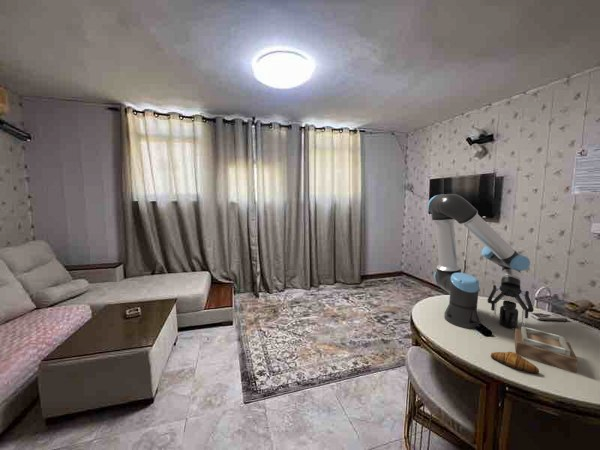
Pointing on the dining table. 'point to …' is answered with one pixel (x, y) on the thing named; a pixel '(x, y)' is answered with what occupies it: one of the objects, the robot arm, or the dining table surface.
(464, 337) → the dining table surface
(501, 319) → the supplement bottle
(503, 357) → the croissant
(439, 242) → the robot arm
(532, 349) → the walnut tray
